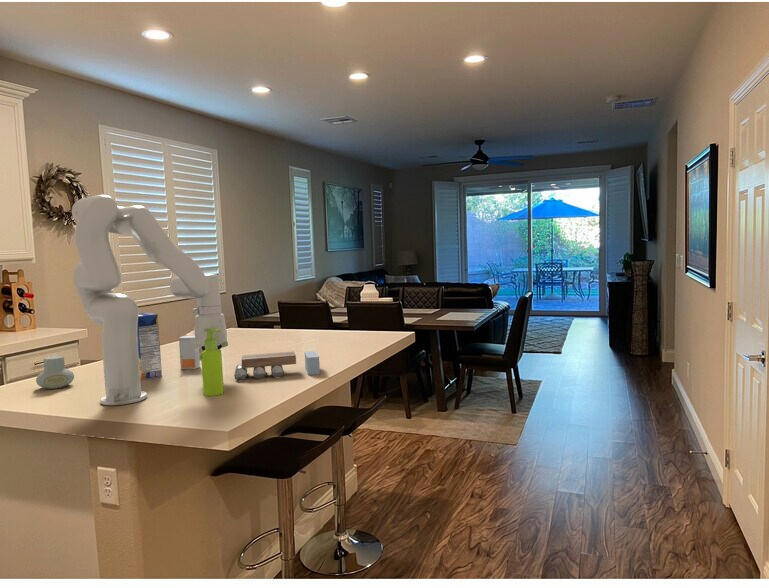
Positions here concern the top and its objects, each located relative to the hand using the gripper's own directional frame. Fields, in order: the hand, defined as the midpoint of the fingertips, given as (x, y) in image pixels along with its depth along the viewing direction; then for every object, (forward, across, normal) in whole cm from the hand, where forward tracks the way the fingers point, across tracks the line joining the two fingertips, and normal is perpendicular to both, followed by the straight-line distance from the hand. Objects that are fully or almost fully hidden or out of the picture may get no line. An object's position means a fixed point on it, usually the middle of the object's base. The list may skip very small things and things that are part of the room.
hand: (213, 364), depth 189 cm
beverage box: (+5, -24, +15) cm, 29 cm away
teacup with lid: (+5, -9, +51) cm, 52 cm away
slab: (+1, +19, 0) cm, 19 cm away
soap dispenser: (+5, +2, -21) cm, 22 cm away
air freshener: (+5, -51, +8) cm, 52 cm away
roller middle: (+3, +13, 0) cm, 13 cm away
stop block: (+5, +33, 0) cm, 34 cm away
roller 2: (+3, +19, 0) cm, 19 cm away
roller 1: (+3, +7, 0) cm, 8 cm away
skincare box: (+5, -10, +23) cm, 26 cm away
